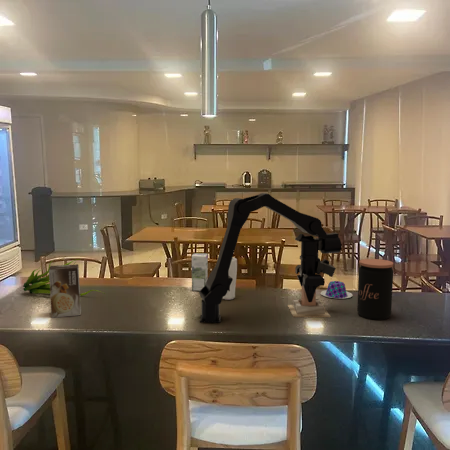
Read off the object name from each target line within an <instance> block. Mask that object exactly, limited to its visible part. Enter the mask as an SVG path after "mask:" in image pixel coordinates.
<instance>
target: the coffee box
mask: <svg viewBox="0 0 450 450" xmlns="http://www.w3.org/2000/svg"><path fill="white" fill-rule="evenodd" d="M79 271H80V269H79V264H69V265H64V264H61V265H58V264H57V265H50V269H49V273H48V274H49V281H50V282H49V283H50V310H51V311H50V312H51V313H50V314H51V318H52V319H53V318H63V317H74V316H75V317H76V316H80V315H81V314H82V305H81V304H82V303H81V296H80V294H81V288H80V272H79Z"/></svg>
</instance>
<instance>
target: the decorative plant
mask: <svg viewBox="0 0 450 450" xmlns="http://www.w3.org/2000/svg"><path fill="white" fill-rule="evenodd" d="M55 260H56V259H52V260H51V261H50V262H49V265H48V267H47V271H45V272H44V273H41V274H39V273H40V272H42V269H40V270H39V268H41V267H42V266H40V267H39V268H36V269H34V270H32V272H30V275H29V276H28V278H27V280H26V281H25V282H24V283H23V286H22V287H23V288H22V289H23V291H24V292H27V291H28V292H29V293H30V294H33V295H34V294H36V295H38V294H48V295H49V294H50V281H49V269H50V266H51V264H52V262H53V261H55ZM78 260H80V258H78V259H74V260H72V261H69V262H67V263H65V264H63V265H71V263H73V262H74V263H73V265H76V264H75V263H76V261H78ZM37 270H38V271H37ZM36 271H37V272H36ZM35 272H36V273H35ZM38 274H39V275H38ZM91 292H98V290H97V289H90V290H88V291H86V292H82V293H81V292H80V297H82V296H86V295H88V294H89V293H91ZM99 293H102V294H106V293H105V292H102V291H101V290H99Z"/></svg>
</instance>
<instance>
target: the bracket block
mask: <svg viewBox="0 0 450 450" xmlns="http://www.w3.org/2000/svg"><path fill="white" fill-rule="evenodd" d="M316 293H317V290H316V291H315V294H314V297H313V300H312V302H308V299H307V296H306V293H305V290H304V287H303V286H302V287H301V298H300V299H301V306H315V305H316V298H317V294H316Z"/></svg>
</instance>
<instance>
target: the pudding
mask: <svg viewBox="0 0 450 450" xmlns="http://www.w3.org/2000/svg"><path fill="white" fill-rule="evenodd" d="M320 295H321V296H323V297H326V298H331V299H349V298H351V297H353V296H354V295H353V293H351V292H349V291H347V289H346V284H345V283H344V282H343V281H337V280H332V281H329V282H328V285H327V288H326V289H325V290H321V292H320Z"/></svg>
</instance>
